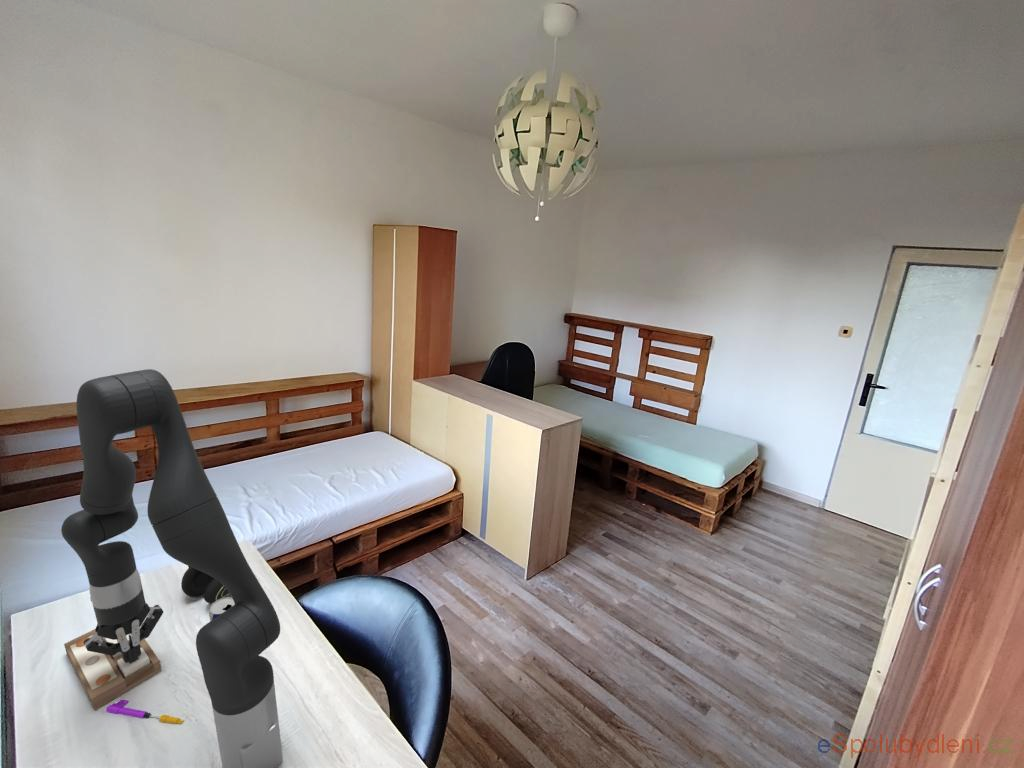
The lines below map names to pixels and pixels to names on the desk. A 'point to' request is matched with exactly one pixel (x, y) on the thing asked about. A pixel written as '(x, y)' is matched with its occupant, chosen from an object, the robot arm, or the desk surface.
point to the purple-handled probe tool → (139, 713)
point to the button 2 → (133, 664)
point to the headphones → (202, 586)
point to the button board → (106, 671)
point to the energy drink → (220, 607)
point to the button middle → (115, 643)
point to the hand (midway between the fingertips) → (132, 659)
